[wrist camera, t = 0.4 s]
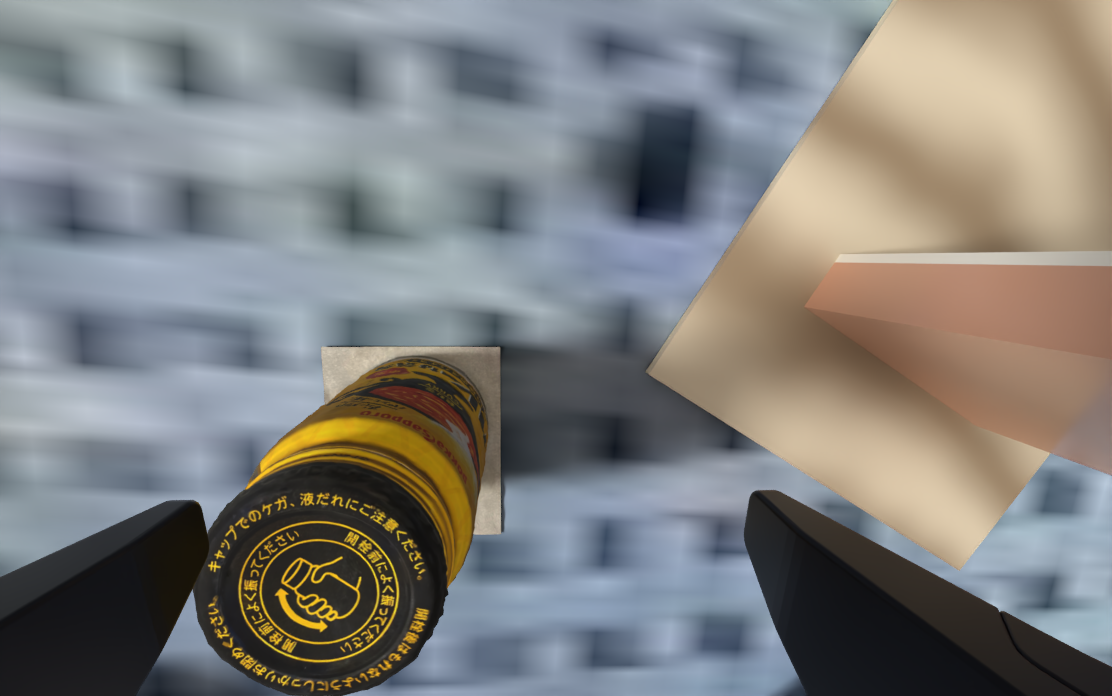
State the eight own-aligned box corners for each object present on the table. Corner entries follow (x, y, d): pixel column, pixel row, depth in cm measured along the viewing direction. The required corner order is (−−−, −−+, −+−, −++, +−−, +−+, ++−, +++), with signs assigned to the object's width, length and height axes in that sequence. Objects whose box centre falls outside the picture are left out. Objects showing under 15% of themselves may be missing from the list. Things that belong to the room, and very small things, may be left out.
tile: (975, 425, 24) (1593, 651, 10) (803, 306, 22) (1256, 384, 9) (1011, 377, 24) (1696, 542, 10) (840, 254, 22) (1365, 248, 8)
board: (949, 563, 26) (959, 570, 25) (645, 371, 23) (648, 374, 22) (1286, 126, 23) (1305, 123, 23) (989, -145, 21) (1003, -157, 20)
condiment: (500, 345, 23) (481, 441, 11) (501, 532, 24) (485, 798, 12) (322, 345, 22) (97, 446, 10) (334, 536, 23) (147, 818, 12)
